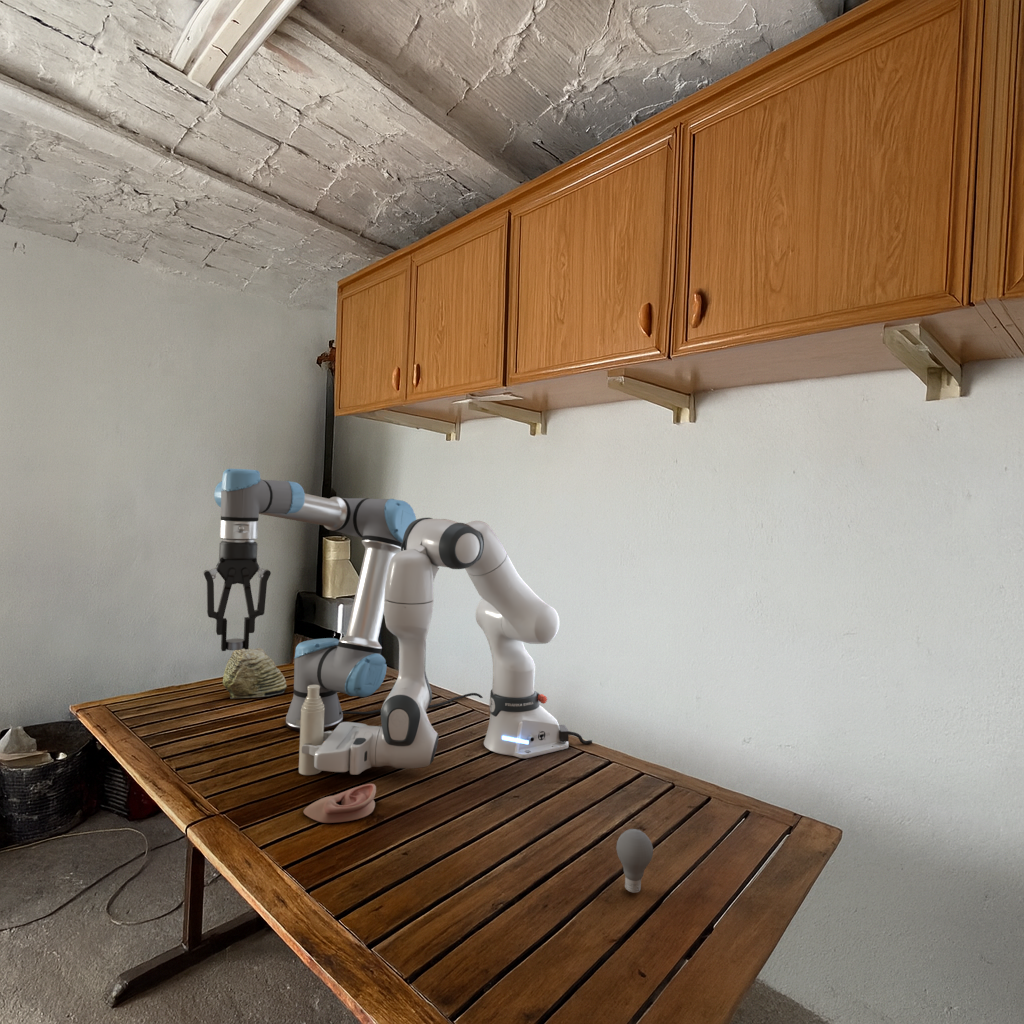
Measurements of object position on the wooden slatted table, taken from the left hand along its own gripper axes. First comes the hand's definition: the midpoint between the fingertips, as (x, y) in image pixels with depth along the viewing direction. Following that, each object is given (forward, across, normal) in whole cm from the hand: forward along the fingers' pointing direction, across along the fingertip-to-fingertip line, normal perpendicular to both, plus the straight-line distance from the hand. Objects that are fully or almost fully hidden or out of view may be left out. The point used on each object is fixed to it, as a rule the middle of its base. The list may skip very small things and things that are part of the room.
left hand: (234, 648), depth 137 cm
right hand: (+23, +16, +1) cm, 29 cm away
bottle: (+30, +17, +1) cm, 34 cm away
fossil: (+30, +13, +63) cm, 71 cm away
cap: (-1, 0, 0) cm, 1 cm away
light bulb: (+30, +56, -67) cm, 92 cm away
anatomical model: (+30, +19, -21) cm, 41 cm away
